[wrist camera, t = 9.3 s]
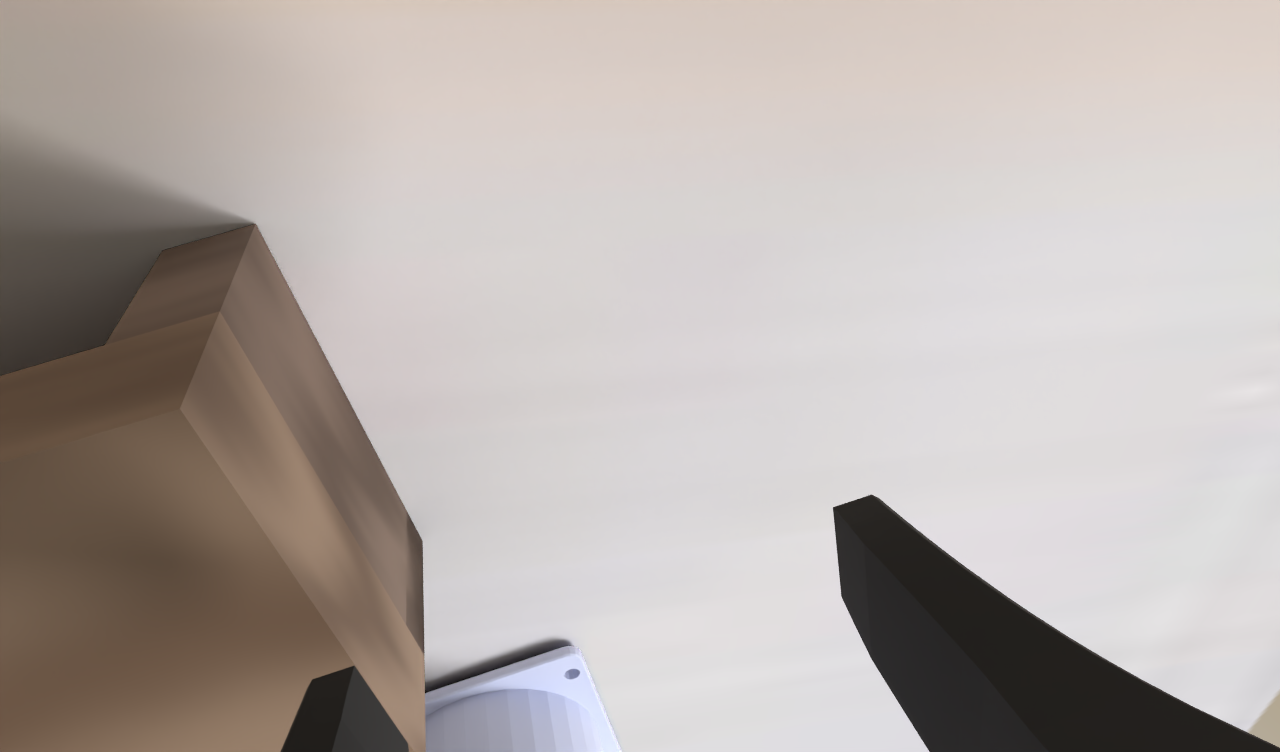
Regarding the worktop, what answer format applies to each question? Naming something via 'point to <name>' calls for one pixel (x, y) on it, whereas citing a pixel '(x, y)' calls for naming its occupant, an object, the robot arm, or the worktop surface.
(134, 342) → the cabinet
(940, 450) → the worktop surface
